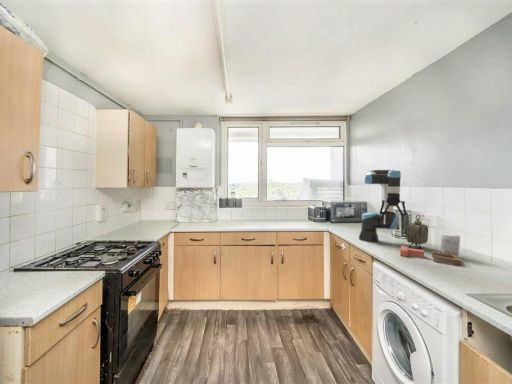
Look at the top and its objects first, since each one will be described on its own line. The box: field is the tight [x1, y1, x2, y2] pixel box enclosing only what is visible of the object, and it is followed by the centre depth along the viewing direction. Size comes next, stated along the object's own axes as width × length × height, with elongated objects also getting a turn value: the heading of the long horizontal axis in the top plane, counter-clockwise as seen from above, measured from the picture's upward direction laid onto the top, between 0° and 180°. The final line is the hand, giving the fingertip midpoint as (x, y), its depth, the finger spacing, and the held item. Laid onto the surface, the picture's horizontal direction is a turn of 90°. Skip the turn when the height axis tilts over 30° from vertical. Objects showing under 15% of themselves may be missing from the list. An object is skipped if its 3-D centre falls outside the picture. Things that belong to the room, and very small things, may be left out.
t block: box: [399, 245, 425, 259], centre depth 154 cm, size 13×13×4 cm
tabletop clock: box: [406, 214, 429, 249], centre depth 172 cm, size 14×9×25 cm, turn 124°
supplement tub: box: [440, 232, 461, 257], centre depth 154 cm, size 10×10×15 cm
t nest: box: [431, 251, 463, 267], centre depth 144 cm, size 14×13×3 cm
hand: (392, 224), depth 160 cm, fingers open, 9 cm apart
